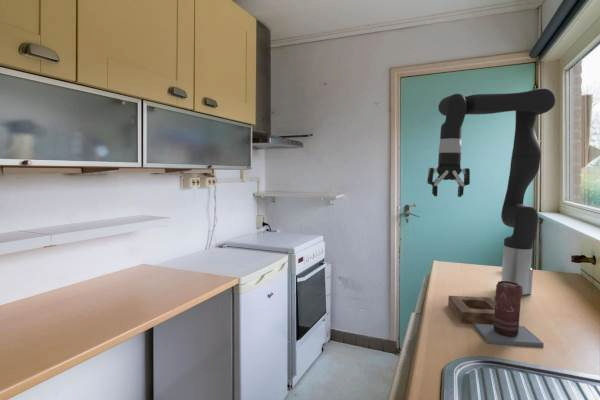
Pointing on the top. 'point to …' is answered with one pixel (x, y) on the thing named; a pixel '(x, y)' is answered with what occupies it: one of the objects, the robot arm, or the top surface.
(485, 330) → the mat
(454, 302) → the box
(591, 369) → the top surface
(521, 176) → the robot arm
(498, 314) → the can
